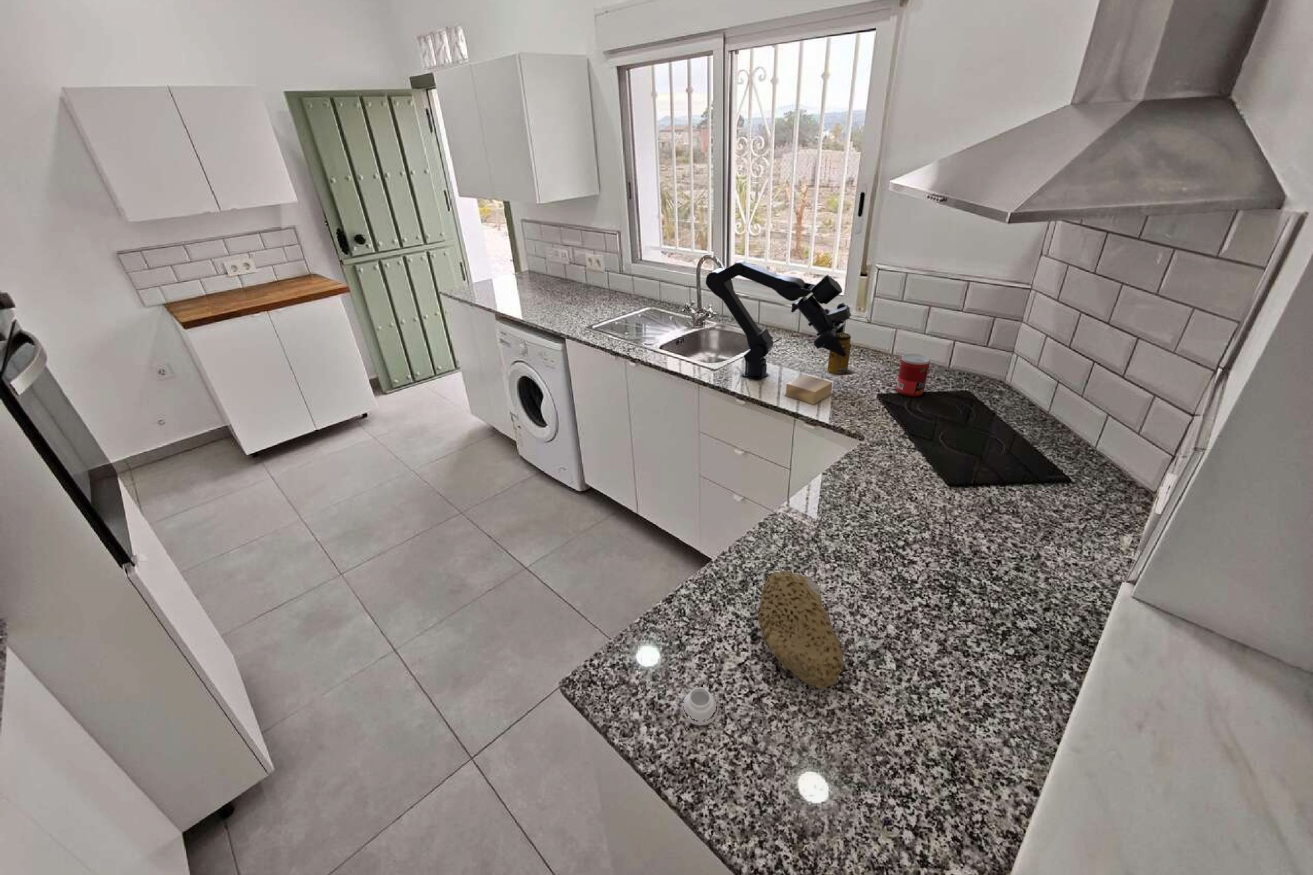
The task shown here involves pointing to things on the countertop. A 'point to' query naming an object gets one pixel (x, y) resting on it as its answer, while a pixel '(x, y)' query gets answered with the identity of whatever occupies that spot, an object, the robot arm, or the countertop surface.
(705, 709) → the white jar
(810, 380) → the block
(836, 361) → the condiment
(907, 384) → the canned food
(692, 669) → the countertop surface
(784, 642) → the sponge
